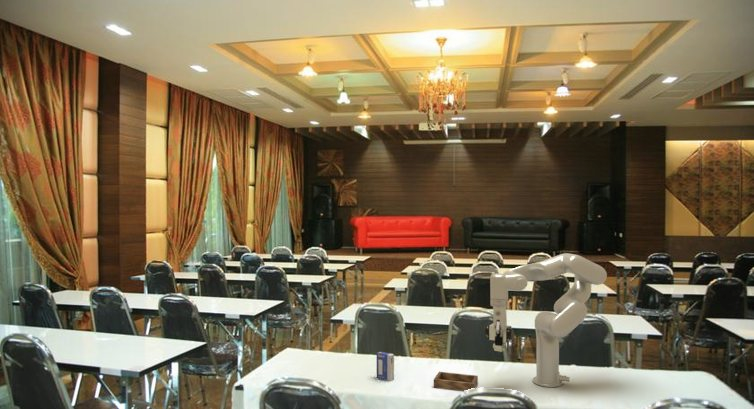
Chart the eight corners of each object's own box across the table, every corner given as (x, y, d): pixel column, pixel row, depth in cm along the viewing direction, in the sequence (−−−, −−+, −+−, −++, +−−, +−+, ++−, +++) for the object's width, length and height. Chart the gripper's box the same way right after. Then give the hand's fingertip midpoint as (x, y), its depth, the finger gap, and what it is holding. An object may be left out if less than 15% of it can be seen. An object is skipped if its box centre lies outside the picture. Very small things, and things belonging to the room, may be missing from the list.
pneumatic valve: (510, 354, 227) (510, 326, 227) (484, 349, 234) (485, 322, 234) (515, 351, 232) (515, 323, 232) (489, 346, 238) (489, 320, 238)
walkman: (376, 378, 243) (376, 352, 243) (379, 376, 246) (379, 350, 245) (391, 381, 239) (391, 354, 239) (394, 379, 241) (394, 353, 241)
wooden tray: (477, 383, 236) (477, 375, 236) (473, 392, 226) (473, 384, 226) (439, 379, 242) (439, 371, 242) (433, 387, 231) (433, 379, 231)
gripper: (506, 306, 223) (506, 349, 223) (509, 299, 239) (510, 339, 240) (488, 305, 226) (488, 348, 226) (492, 298, 242) (493, 338, 242)
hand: (499, 343), depth 233 cm, fingers closed on pneumatic valve, 5 cm apart
